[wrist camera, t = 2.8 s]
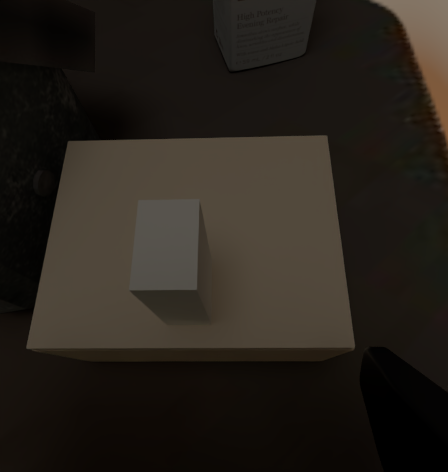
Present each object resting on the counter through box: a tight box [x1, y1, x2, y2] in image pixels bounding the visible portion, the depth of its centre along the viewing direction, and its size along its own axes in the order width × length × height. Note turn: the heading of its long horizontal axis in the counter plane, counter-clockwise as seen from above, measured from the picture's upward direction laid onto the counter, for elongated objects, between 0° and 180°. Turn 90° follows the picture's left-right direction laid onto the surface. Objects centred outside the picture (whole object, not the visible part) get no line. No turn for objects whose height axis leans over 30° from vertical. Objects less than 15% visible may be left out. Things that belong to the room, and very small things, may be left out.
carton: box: [32, 348, 354, 362], centre depth 18 cm, size 9×12×6 cm
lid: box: [26, 136, 355, 350], centre depth 13 cm, size 9×12×6 cm
